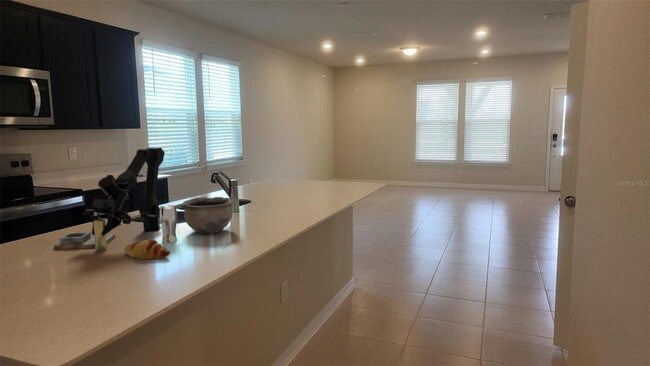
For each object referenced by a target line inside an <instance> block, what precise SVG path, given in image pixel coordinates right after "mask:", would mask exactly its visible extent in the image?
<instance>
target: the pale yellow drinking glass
mask: <svg viewBox="0 0 650 366" xmlns="http://www.w3.org/2000/svg"><path fill="white" fill-rule="evenodd" d="M105 226H106V219H102V220H95V221H94V235H95V252H96V253H97V252H100V253H101V252H106V251H107V250H108V246H107V245H108V243H107V242H106V235H104V236H102V232H103V229H104V228H105Z"/></svg>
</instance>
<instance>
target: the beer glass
mask: <svg viewBox="0 0 650 366" xmlns="http://www.w3.org/2000/svg"><path fill="white" fill-rule="evenodd" d="M159 208H160V227H161V231H162V232H161V233H162V238H161V242H162V243H163V242H165V244H170V243H169V242H172V243H175V242H174V241H176V242H177V241H178V237H177V231H176V230H177V225H178V211H177V205H172V204H171V205H163V206H159Z"/></svg>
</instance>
